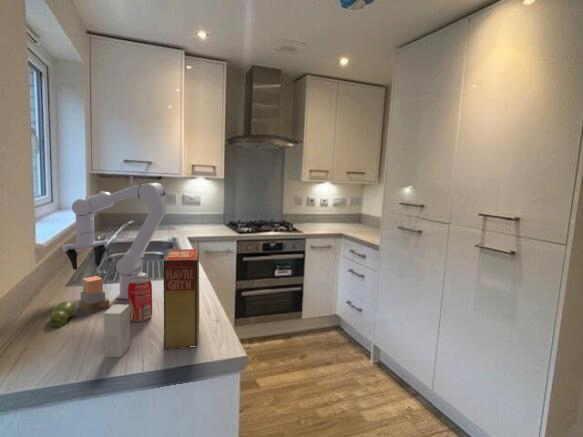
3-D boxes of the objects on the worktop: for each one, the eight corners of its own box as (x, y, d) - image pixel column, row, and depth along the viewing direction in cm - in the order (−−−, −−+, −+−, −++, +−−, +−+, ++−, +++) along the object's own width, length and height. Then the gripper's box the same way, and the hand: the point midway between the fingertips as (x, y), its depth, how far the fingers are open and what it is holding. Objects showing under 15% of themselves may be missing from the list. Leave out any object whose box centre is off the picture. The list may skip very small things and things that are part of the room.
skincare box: (114, 345, 94) (113, 303, 92) (130, 345, 94) (130, 304, 93) (104, 357, 88) (103, 313, 86) (121, 357, 88) (120, 313, 87)
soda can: (156, 315, 114) (156, 278, 112) (140, 324, 107) (140, 284, 105) (139, 312, 116) (139, 274, 114) (123, 320, 109) (122, 280, 108)
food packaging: (168, 327, 106) (168, 248, 103) (199, 326, 108) (201, 248, 105) (162, 349, 93) (162, 260, 90) (198, 347, 95) (199, 259, 92)
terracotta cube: (97, 288, 121) (96, 275, 120) (102, 291, 118) (102, 278, 117) (83, 291, 117) (82, 278, 117) (88, 294, 114) (88, 281, 114)
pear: (77, 298, 111) (63, 315, 102) (79, 312, 113) (65, 331, 103) (58, 298, 110) (42, 316, 101) (60, 312, 112) (45, 331, 102)
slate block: (97, 296, 121) (97, 288, 121) (105, 300, 118) (104, 291, 118) (80, 300, 117) (80, 291, 117) (87, 304, 114) (87, 296, 113)
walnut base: (100, 302, 123) (100, 294, 123) (109, 308, 119) (109, 300, 118) (79, 308, 118) (78, 299, 117) (87, 314, 113) (87, 305, 113)
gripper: (101, 228, 134) (102, 261, 136) (58, 231, 123) (60, 268, 125) (109, 230, 130) (110, 265, 132) (65, 234, 119) (67, 272, 121)
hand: (86, 267), depth 128 cm, fingers open, 7 cm apart
